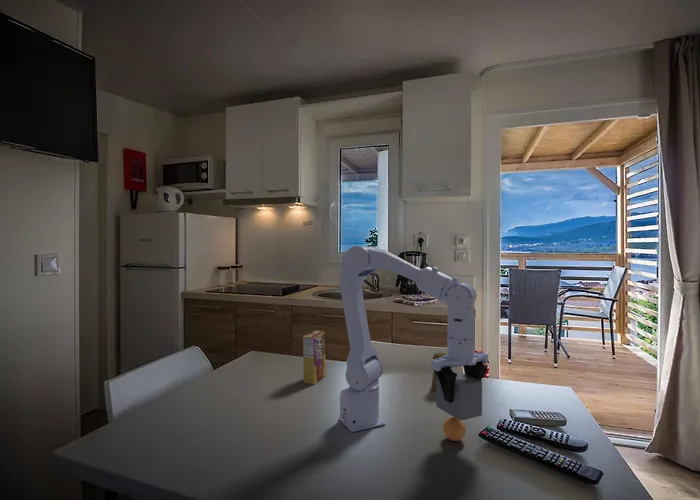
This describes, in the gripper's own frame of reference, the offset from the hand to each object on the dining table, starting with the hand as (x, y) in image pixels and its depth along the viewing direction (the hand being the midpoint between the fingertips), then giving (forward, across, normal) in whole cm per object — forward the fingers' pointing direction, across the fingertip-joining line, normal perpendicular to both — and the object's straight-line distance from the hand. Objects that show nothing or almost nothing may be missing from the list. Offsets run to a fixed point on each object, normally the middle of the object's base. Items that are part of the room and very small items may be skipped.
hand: (460, 398), depth 84 cm
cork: (+11, +18, +29) cm, 36 cm away
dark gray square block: (+3, 0, 0) cm, 3 cm away
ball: (+8, 0, +2) cm, 8 cm away
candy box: (+11, -15, +53) cm, 56 cm away
